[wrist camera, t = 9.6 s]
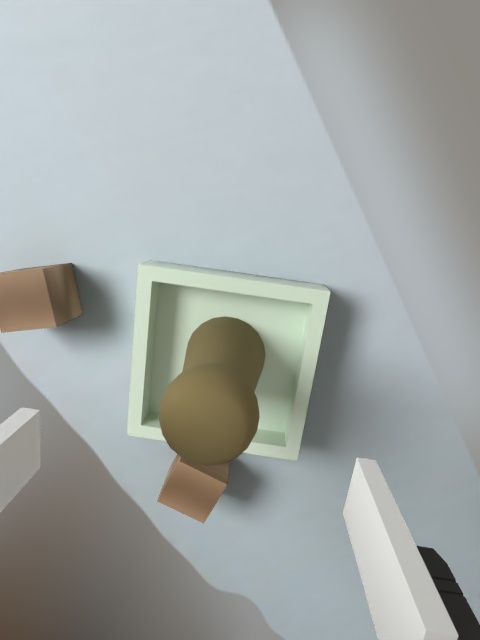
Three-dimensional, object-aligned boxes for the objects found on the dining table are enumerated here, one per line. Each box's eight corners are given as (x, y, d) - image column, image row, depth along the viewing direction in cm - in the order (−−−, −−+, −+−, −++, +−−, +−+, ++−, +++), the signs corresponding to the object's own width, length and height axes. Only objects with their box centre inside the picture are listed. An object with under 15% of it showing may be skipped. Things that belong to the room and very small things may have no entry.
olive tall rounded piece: (251, 305, 28) (245, 356, 17) (275, 379, 29) (284, 469, 18) (175, 329, 28) (123, 392, 18) (201, 400, 30) (168, 498, 19)
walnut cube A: (22, 268, 29) (-15, 275, 25) (72, 262, 29) (42, 268, 25) (35, 318, 30) (1, 332, 26) (83, 313, 30) (56, 327, 26)
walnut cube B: (189, 432, 32) (179, 461, 28) (231, 453, 32) (227, 484, 28) (169, 468, 33) (157, 501, 29) (210, 488, 33) (203, 523, 29)
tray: (150, 260, 28) (138, 264, 25) (323, 284, 28) (330, 291, 25) (139, 415, 31) (126, 435, 28) (293, 438, 31) (297, 460, 28)
